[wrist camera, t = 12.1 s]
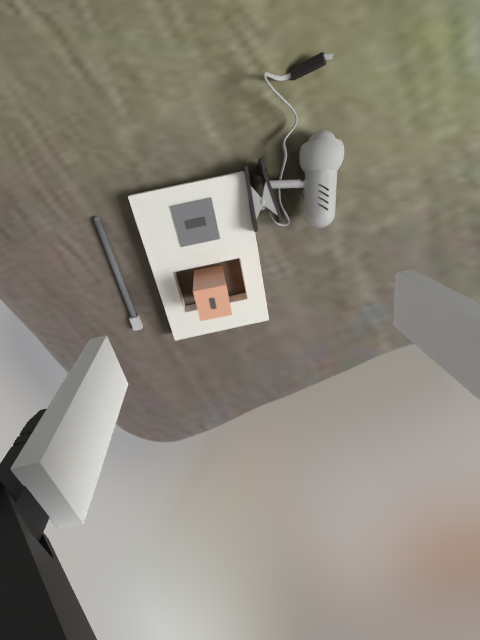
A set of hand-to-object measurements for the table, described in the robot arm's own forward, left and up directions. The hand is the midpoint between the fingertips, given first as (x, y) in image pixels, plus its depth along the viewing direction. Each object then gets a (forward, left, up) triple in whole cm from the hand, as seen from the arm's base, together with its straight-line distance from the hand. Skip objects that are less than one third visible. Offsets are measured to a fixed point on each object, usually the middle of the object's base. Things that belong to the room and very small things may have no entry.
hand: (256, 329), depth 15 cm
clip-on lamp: (-6, +10, -31) cm, 33 cm away
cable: (+4, -15, -31) cm, 34 cm away
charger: (+8, -3, -31) cm, 32 cm away
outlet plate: (+5, -3, -31) cm, 31 cm away
